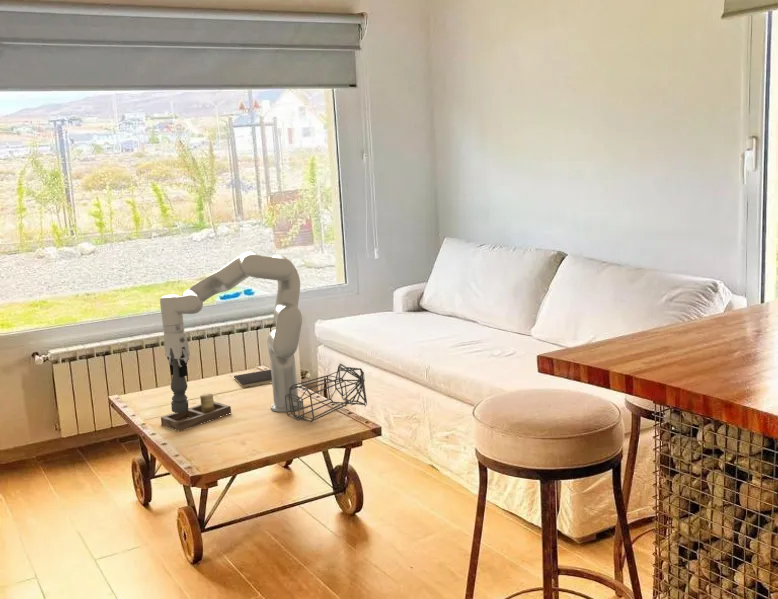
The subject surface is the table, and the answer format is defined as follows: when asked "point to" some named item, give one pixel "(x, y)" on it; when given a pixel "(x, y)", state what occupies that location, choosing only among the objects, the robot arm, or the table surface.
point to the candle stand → (196, 414)
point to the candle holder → (178, 388)
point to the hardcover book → (254, 378)
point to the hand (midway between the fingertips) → (179, 374)
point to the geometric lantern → (359, 383)
